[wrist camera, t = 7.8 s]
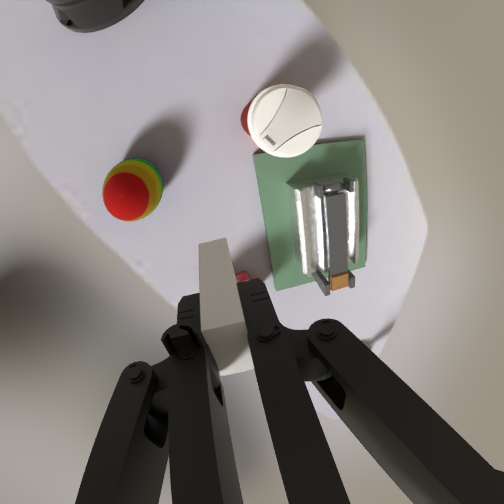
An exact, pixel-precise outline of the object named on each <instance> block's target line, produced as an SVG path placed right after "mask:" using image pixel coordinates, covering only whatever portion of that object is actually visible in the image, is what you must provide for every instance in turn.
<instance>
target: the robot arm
mask: <svg viewBox="0 0 504 504" xmlns="http://www.w3.org/2000/svg"><path fill="white" fill-rule="evenodd" d="M46 1H48V2H50V3H51V4H52V6H53V9H54V11H55V14H56V17H57V19H58V20H59V22H60V23H61V24H62V25H63V26H65V27H67V28H68V29H70V30H72V31H75V32H81V33H88V32H95V31H99V30H102V29H105V28H107V27H110V26H112V25H114V24H116V23H117V22H119V21H121V20H122V19H124V18H125V17H127V16H128V15H129V14H131V13H132V12H133V11H134V10H135V9H136V8H137V7H138V6H139V5H140V4H141V3H142V1H143V0H46ZM199 289H200V293H196V294H192V295H188V296H183V297H182V299H181V300H180V302H179V304H178V314H177V324H176V325H173V326H172V327H170V328H168V329H167V330H166V331H165V332H164V334H163V336H162V338H161V341H162V342H163V344H164V346H165V348H166V349H167V351H168V353H169V355H170V356H169V357H168V358H167V359H165V360H164V361H162V362H160V363H158V364H155V365H153V366H150V365H149V364H148V363H146V362H142V361H139V362H134V363H132V364H129V365H128V366H127V367H126V368H125V369H124V370H123V372H122V373H121V376H120V378H119V381H118V383H117V385H116V388H115V390H114V392H113V395H112V397H111V400H110V402H109V405H108V407H107V410H106V413H105V415H104V418H103V420H102V423H101V426H100V428H99V431H98V434H97V437H96V439H95V442H94V445H93V448H92V451H91V454H90V457H89V460H88V463H87V466H86V469H85V472H84V475H83V478H82V482H81V485H80V488H79V492H78V495H77V499H76V502H75V504H158V503H159V498H160V493H161V489H162V483H163V479H164V474H165V470H166V465H167V461H168V456H169V462H170V479H171V492H172V493H171V494H172V504H243V499H242V495H241V490H240V484H239V479H238V474H237V469H236V464H235V459H234V452H233V447H232V441H231V435H230V429H229V423H228V416H227V410H226V404H225V397H224V390H223V386H222V383H221V381H220V378H219V372H220V374H221V376H224V375H229V374H233V373H238V372H242V371H247V370H251V369H255V374H256V377H257V382H258V386H259V390H260V394H261V398H262V403H263V407H264V410H265V415H266V419H267V423H268V427H269V430H270V434H271V438H272V442H273V446H274V450H275V454H276V457H277V461H278V465H279V469H280V473H281V476H282V480H283V484H284V487H285V491H286V495H287V498H288V502H289V504H350V501H349V499H348V496H347V493H346V491H345V488H344V486H343V483H342V480H341V477H340V475H339V472H338V469H337V467H336V464H335V461H334V459H333V456H332V453H331V451H330V448H329V445H328V443H327V440H326V438H325V435H324V432H323V430H322V427H321V425H320V422H319V419H318V416H317V414H316V411H315V408H314V406H313V403H312V401H311V398H310V395H309V393H308V390H307V387H306V385H305V382H304V381H311V382H312V383H313V385H314V386H315V387H316V388H317V390H318V391H319V392H320V393H321V395H322V396H323V397H324V398H325V400H326V401H327V402H328V403H329V405H330V406H331V407H332V408H333V410H334V411H335V412H336V413H337V415H338V416H339V417H340V418H341V420H342V421H343V422H344V423H345V424H346V426H347V427H348V428H349V429H350V431H351V432H352V433H353V434H354V435H355V436H356V438H357V439H358V440H359V441H360V443H361V444H362V445H363V446H364V447H365V449H366V450H367V451H368V452H369V453H370V454H371V456H372V457H373V458H374V459H375V460H376V461H377V463H378V464H379V465H380V466H381V467H382V468H383V470H384V471H385V472H386V473H387V474H388V475H389V477H390V478H391V479H392V480H393V481H394V482H395V483H396V484H397V486H398V487H399V488H400V489H401V490H402V491H403V492H404V494H405V495H406V496H407V497H408V498H409V499H410V500H411V501H412V502H413V503H414V504H504V472H502V471H499V470H495V469H494V468H493V467H492V466H491V465H489V463H488V462H487V461H486V460H485V459H483V457H481V455H480V454H478V452H476V451H475V450H474V449H473V448H472V447H471V446H470V445H469V444H468V443H467V442H466V441H465V440H464V439H463V438H462V437H461V436H460V435H459V434H458V433H457V432H456V431H455V430H454V429H453V428H452V427H451V426H450V425H448V423H447V422H446V421H444V420H443V419H442V418H441V417H440V416H439V415H438V414H437V413H436V412H435V411H434V410H433V409H432V408H431V407H430V406H429V405H428V404H427V403H426V402H425V401H424V400H423V399H422V398H421V397H419V396H418V395H417V394H416V393H415V392H414V391H413V390H412V389H411V388H410V387H409V386H408V385H407V384H406V383H405V382H404V381H403V380H401V378H399V377H398V376H397V375H396V374H395V373H394V372H393V371H392V370H391V369H390V368H389V367H388V366H387V365H386V364H385V363H384V362H383V361H381V360H380V359H379V358H378V357H377V356H376V355H375V354H374V353H373V352H372V351H371V350H370V349H369V348H368V347H367V346H366V345H365V344H363V343H362V342H361V341H360V340H359V339H358V338H357V337H356V336H355V335H354V334H353V333H352V332H351V331H350V330H348V329H347V328H346V327H345V326H344V325H343V324H342V323H340V322H339V321H337V320H334V319H321V320H318V321H316V322H314V323H313V324H312V325H311V326H310V328H309V329H308V330H292V329H289V328H286V327H284V326H283V325H282V324H281V323H280V322H279V320H278V317H277V315H276V312H275V309H274V307H273V304H272V301H271V299H270V296H269V294H268V291H267V288H266V286H265V283H264V282H262V281H261V280H260V279H258V278H256V279H252V280H248V281H244V282H240V283H237V281H236V276H235V272H234V268H233V264H232V260H231V256H230V252H229V248H228V244H227V240H226V238H222V239H218V240H214V241H210V242H206V243H202V244H199Z"/></svg>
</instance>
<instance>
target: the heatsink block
mask: <svg viewBox="0 0 504 504" xmlns="http://www.w3.org/2000/svg"><path fill="white" fill-rule="evenodd" d="M342 181H344V182H345V184H346V190H342V191H336V192H331V193H325V194H323V186H322V185H324V184H330V183H336V182H342ZM286 188H287V196H288V203H289V211H290V219H291V228H292V237H293V245H294V255H295V263H296V264H297V266H298V268H299V269H300V271H301V273H302V274H303V275H304V274H306V275H307V277H312V276H311V273H312V272H316V271H319V270H323V272H324V273H326V272H328V255H327V237H326V223H325V210H324V199H323V198H324V195H329V194H334V193H340V192H344V193H345V195H346V213H347V243H348V263H349V262H353V263H354V264H358V258H359V184H358V178H356V177H354V176H351V175H349V174H347V173H339V174H333V175H327V176H321V177H315V178H309V179H304V180H298V181H293V182H287V183H286Z"/></svg>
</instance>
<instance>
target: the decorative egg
mask: <svg viewBox="0 0 504 504" xmlns="http://www.w3.org/2000/svg"><path fill="white" fill-rule="evenodd" d="M162 192H163V181H162V177H161V175H160V173H159V171H158V169H157V168H156V167H155V166H154V165H153V164H152V163H150V162H148V161H146V160H143V159H138V158H132V159H127V160H124V161H122V162H120V163H119V164H117V165H116V166H115V167H113V168H112V170H111V171H110V172H109V173H108V175H107V177H106V179H105V181H104V185H103V192H102V195H103V201H104V204H105V207H106V208H107V210H108V211H109V212H110V214H111V215H113V216H114V217H116V218H117V219H120V220H123V221H136V220H140V219H142V218H144V217H146V216H148V215H149V214H150V213H151V212H152V211H153V210H154V209H155V208H156V207H157V205H158V204H159V202H160V199H161V197H162Z"/></svg>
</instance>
